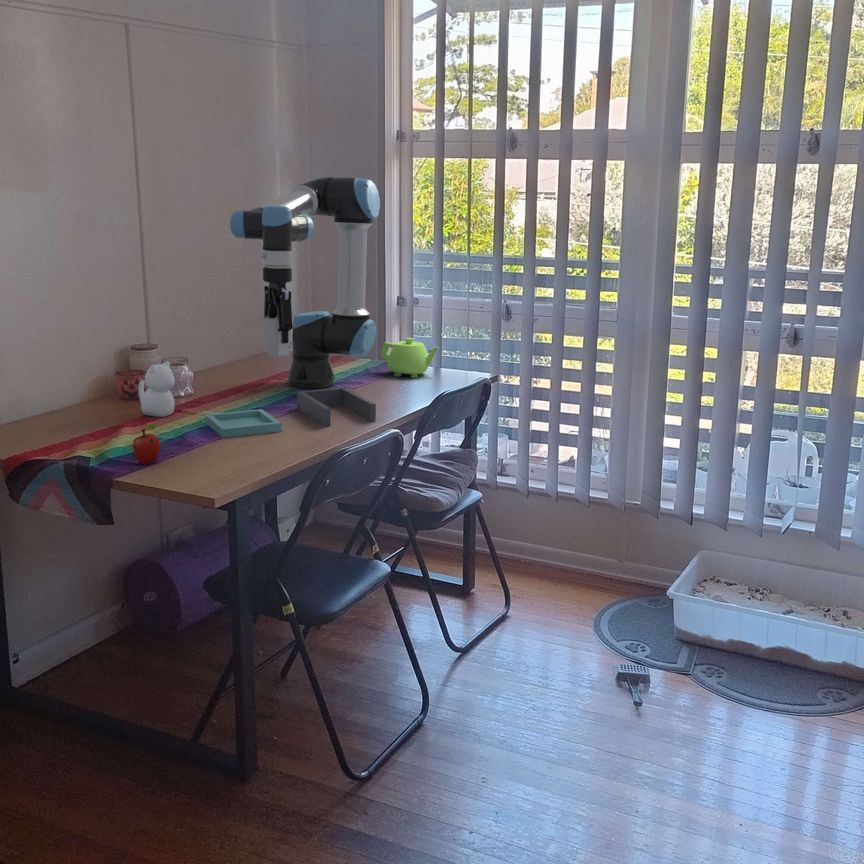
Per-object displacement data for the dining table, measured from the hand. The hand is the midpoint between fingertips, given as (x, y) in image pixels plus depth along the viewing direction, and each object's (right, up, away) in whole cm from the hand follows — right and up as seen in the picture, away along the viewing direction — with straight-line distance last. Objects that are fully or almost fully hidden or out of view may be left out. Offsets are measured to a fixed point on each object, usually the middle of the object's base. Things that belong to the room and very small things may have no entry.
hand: (278, 352), depth 259 cm
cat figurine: (-36, -17, +10) cm, 41 cm away
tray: (-9, -20, 0) cm, 22 cm away
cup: (0, -1, 0) cm, 1 cm away
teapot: (+33, -2, +70) cm, 78 cm away
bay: (+14, -17, +15) cm, 26 cm away
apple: (-25, -29, -32) cm, 50 cm away
